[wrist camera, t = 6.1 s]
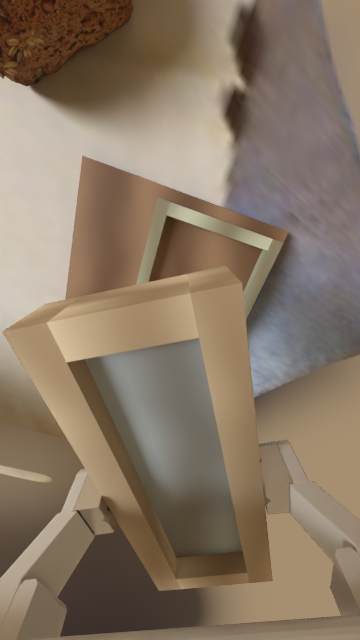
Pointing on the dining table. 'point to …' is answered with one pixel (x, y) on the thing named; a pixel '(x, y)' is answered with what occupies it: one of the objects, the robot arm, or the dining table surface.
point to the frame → (161, 419)
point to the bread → (52, 33)
